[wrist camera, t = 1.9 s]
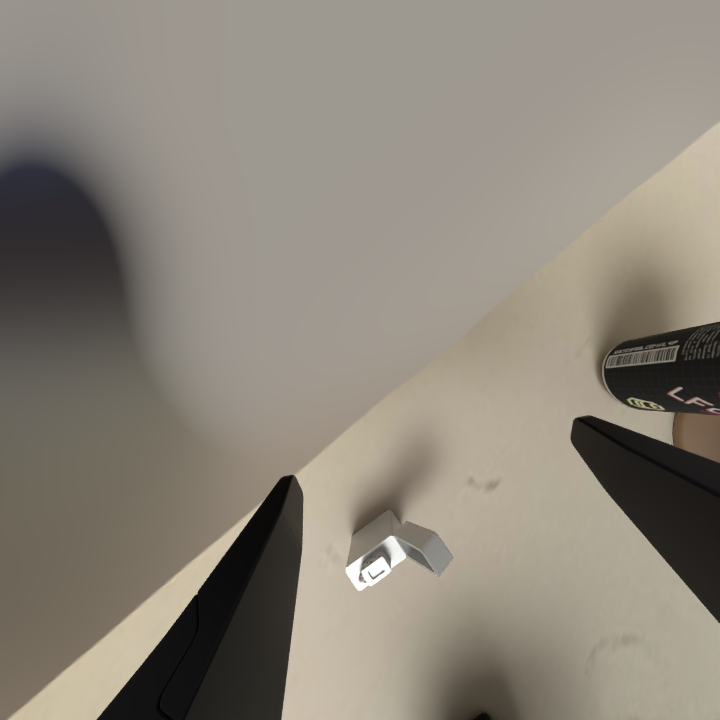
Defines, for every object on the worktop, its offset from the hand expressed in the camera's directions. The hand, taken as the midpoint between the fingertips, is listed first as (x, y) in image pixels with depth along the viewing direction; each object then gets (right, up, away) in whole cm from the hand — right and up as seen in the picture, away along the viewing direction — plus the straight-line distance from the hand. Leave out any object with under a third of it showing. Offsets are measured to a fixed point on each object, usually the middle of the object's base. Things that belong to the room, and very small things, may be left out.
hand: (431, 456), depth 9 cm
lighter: (0, -11, +15) cm, 18 cm away
